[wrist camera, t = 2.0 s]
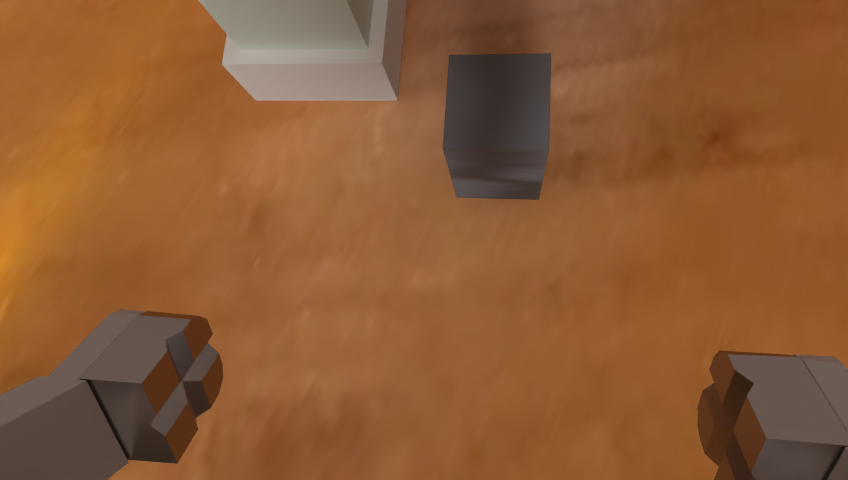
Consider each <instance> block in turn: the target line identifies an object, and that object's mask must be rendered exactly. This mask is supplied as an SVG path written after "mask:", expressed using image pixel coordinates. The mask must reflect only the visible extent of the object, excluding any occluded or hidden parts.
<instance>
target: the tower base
mask: <svg viewBox="0 0 848 480" xmlns="http://www.w3.org/2000/svg"><path fill="white" fill-rule="evenodd" d="M406 4H407V0H374V3H373V12H372V20H371V29H370V38H369V47H368V50H249V51H241V50H240V49H239V48H238V47H237V46H236V44H235V43H234V42H233V41H232V40H231V38H230V37H229V36H228V35H227V37H226V43H225V49H224V55H223V61H222V65H223V66H224V67H225V68H226V69H227V70H228V72H229V73H230V74H231V75H232V76H233V77H234V78H235V79H236V80H237V81H238V82H239V83H240V84H241V85H242V86H243V87H244V88H245V89H246V91H247V92H248V93H249V94H250V95H251V96H252V97H253V98H254V99H255V100H313V101H398V90H399V79H400V68H401V58H402V47H403V36H404V25H405V15H406Z"/></svg>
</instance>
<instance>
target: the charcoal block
mask: <svg viewBox="0 0 848 480" xmlns="http://www.w3.org/2000/svg"><path fill="white" fill-rule="evenodd" d="M550 78H551V54H489V55H449V65H448V80H447V95H446V110H445V125H444V140H443V151H444V154H445V157H446V161H447V164H448V168H449V171H450V175H451V178H452V182H453V185H454V189H455V192H456V196H457V198H493V199H533V200H539V196H540V191H541V186H542V181H543V176H544V171H545V166H546V161H547V157H548V152H549V122H550Z"/></svg>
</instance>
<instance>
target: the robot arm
mask: <svg viewBox="0 0 848 480" xmlns="http://www.w3.org/2000/svg"><path fill="white" fill-rule="evenodd" d="M212 335H213V333H212V331H211V328H210V325H209V323H208V320H207V319H206V318H203V317H201V316H195V315H184V314H173V313H163V312H152V311H146V312H144V311H134V310H124V309H120V310H117V311H115V312H112V313H110V314H109V315H108V316H107V317H106V318H105V319H104V320H103V321H102V322H101V323H100V324H99V325H98V326H97V327H96V328H95V329H94V330H93V331H92V332H91V333H90V334H89V335H88V336H87V337H86V338H85V339H84V340H83V341H82V342H81V343H80V344H79V346H78V347H77V348H76V349H75V350H74V351H73V352H72V353H71V354H70V355H69V356H68V357H67V358H66V359H65V360H64V361H63V362H62V363H61V364H60V365H59V366H58V367H57V368H56V369H55V370H54V371H53V372H52V373H51V374H50V375H49V376H48V377H40V376H38V377H36V378H34V379H32V380H30V381H28V382H26V383H24V384H22V385H20V386H18V387H16V388H14V389H12V390H10V391H8V392H6V393H4V394H2V395H0V480H107V479H108V478H110V477H111V476H112V475H113V474H115V473H116V472H117V471H119V470H120V469H121V468H122V467H124V466H125V465H126V464H127V463H128V460H138V461H151V462H163V463H176V464H177V463H178V462H179V460H180V458H181V457H182V455H183V453H184V452H185V450H186V448H187V447H188V445H189V443H190V442H191V440H192V438H193V437H194V435H195V434H196V432H197V430H198V427H197V421H196V417H198V416H199V415H201V414H202V413H204V412H205V411H207V410H208V409H210V408H211V407H212V405H213V403H214V402H215V400H216V398H217V396H218V394H219V391H220V387H221V383H222V379H223V365H222V361H221V358H220V355H219V353H218V352H217V351H216V350H215V349H214V348H213V347H211V346H210V345H209V344H208V342H209V340H210V338H211V336H212ZM709 370H710V373H711V375H712V378H713V380H714V383H713V384H712V385H710V386H709V387H707V388H706V389H704V390H703V391H702V394H701V397H700V401H699V405H698V430H699V436H700V440H701V444H702V447H703V450H704V453H705V454H706V455H707V456H708V457H709V458H710V459H711V460H712V461H713V462H714V463H715V464H717V465H718V466H719V468H718V471H717V473H716V476H715V479H714V480H848V370H847V369H846V368H845V366H844V365H843V363H842V362H841V361H839V360H838V359H836V358H834V357H833V356H814V355H795V354H794V355H786V354H770V353H753V352H736V351H718V353H717V354H716V355H715V356H714V357H713V360H712V363H711V366H710V369H709Z"/></svg>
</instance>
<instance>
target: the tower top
mask: <svg viewBox="0 0 848 480" xmlns="http://www.w3.org/2000/svg"><path fill="white" fill-rule="evenodd" d="M198 1H199V2H200V3H201V4H202V5H203V7H204V8H205V9H206V10H207V11H208V12H209V14H210V15H211V16H212V17H213V18H214V20H215V21H216V22H217V23H218V24H219V25H220V27H221V28H222V29H223V30H224V31H225V33H226V34H227V35H228V36H229V37H230V38H231V40H232V41H233V42H234V43H235V44H236V46H237V47H238V48H239V49H240V50H241V51H249V50H368V47H369V38H370V29H371V20H372V12H373V3H374V0H198Z"/></svg>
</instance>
